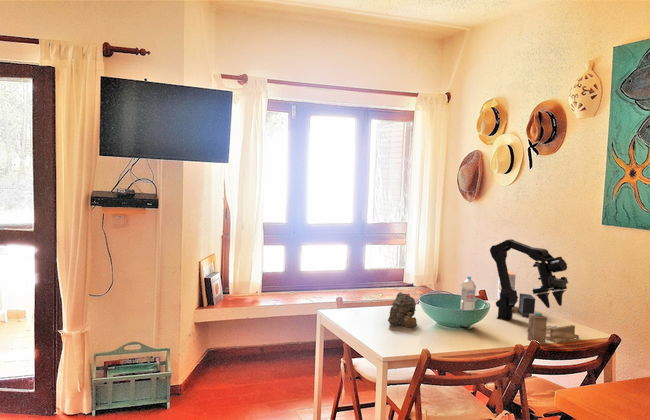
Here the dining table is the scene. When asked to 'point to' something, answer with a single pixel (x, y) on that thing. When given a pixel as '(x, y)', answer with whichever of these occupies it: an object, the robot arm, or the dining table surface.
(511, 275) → the cracker box
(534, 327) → the wooden block
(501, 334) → the dining table surface
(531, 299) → the small box
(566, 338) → the cleat board
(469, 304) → the water bottle
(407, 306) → the rock
